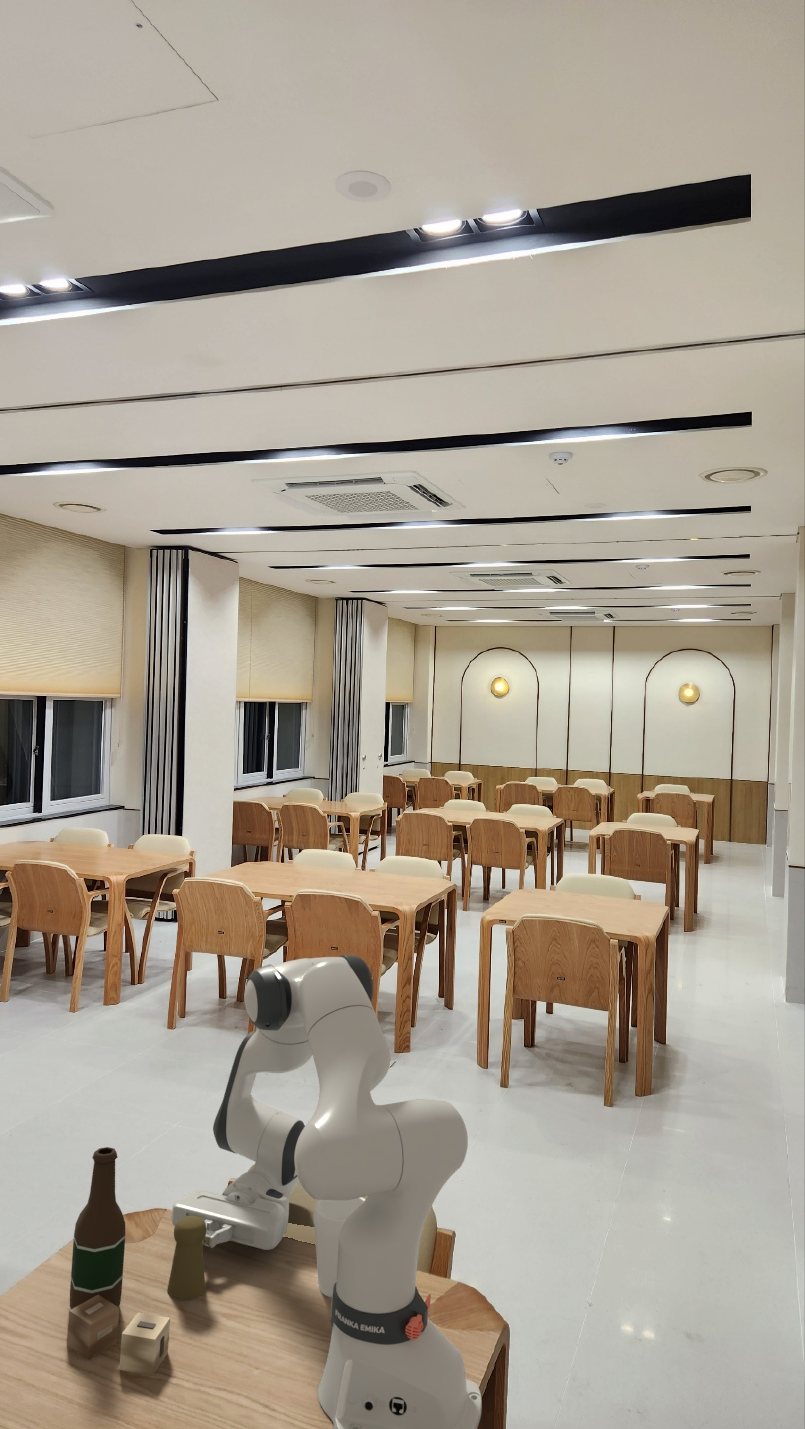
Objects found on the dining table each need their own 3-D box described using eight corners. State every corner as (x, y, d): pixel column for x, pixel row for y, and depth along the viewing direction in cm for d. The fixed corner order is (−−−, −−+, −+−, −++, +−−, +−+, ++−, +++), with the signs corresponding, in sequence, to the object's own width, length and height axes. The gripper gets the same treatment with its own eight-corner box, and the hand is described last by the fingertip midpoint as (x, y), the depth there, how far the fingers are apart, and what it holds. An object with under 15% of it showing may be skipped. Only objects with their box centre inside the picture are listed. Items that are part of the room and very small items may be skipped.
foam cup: (300, 1295, 146) (305, 1213, 147) (321, 1265, 155) (326, 1188, 155) (355, 1309, 143) (360, 1226, 144) (373, 1277, 152) (378, 1199, 153)
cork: (195, 1303, 143) (200, 1232, 143) (160, 1296, 144) (165, 1226, 144) (211, 1281, 148) (215, 1213, 149) (177, 1275, 150) (181, 1207, 150)
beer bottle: (87, 1330, 135) (98, 1166, 136) (58, 1308, 139) (68, 1150, 140) (131, 1306, 141) (141, 1150, 142) (101, 1286, 146) (111, 1135, 146)
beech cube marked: (168, 1353, 131) (171, 1316, 131) (153, 1376, 126) (156, 1338, 126) (135, 1347, 132) (138, 1311, 132) (119, 1369, 127) (121, 1332, 127)
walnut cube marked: (117, 1342, 132) (120, 1307, 133) (88, 1360, 128) (91, 1323, 128) (95, 1328, 135) (98, 1293, 135) (66, 1345, 131) (69, 1309, 131)
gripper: (197, 1174, 167) (153, 1208, 154) (296, 1198, 160) (259, 1235, 147) (195, 1209, 167) (150, 1245, 154) (294, 1234, 160) (256, 1275, 147)
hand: (204, 1241), depth 151 cm, fingers closed
